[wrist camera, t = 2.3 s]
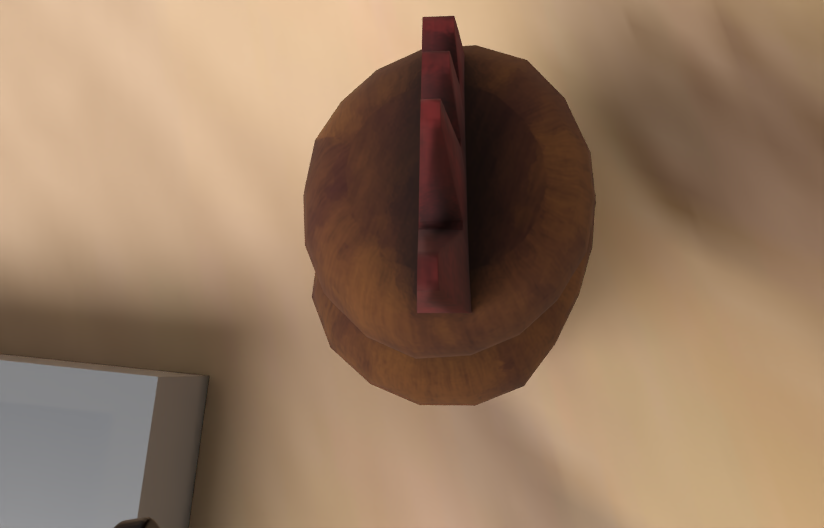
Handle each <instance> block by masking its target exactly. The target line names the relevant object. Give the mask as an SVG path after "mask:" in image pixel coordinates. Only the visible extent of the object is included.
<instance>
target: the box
mask: <svg viewBox="0 0 824 528" xmlns="http://www.w3.org/2000/svg"><path fill="white" fill-rule="evenodd" d="M208 382H209V376H205V375H196V374H186V373H177V372H167V371H157V370H148V369H138V368H129V367H119V366H110V365H100V364H90V363H81V362H71V361H62V360H52V359H43V358H33V357H23V356H14V355H4V354H0V528H114V527H115V526H116V525H117V524H118V523H120V522H121V521H124V520H129V519H135V518H142V517H150V518H152V519H154V520H155V521H156V522H157V524H158V525H159V527H160V528H188V527H189V519H190V512H191V505H192V498H193V490H194V483H195V476H196V469H197V461H198V454H199V447H200V440H201V432H202V425H203V418H204V411H205V403H206V396H207V389H208Z"/></svg>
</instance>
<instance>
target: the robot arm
mask: <svg viewBox="0 0 824 528" xmlns="http://www.w3.org/2000/svg"><path fill="white" fill-rule="evenodd" d="M114 528H160V527H159V525H158V524H157V522H156V521H155V520H154V519H152V518H150V517H142V518H135V519H129V520H124V521H121V522H120V523H118V524H117V525H116V526H115V527H114Z"/></svg>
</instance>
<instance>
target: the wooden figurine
mask: <svg viewBox="0 0 824 528" xmlns="http://www.w3.org/2000/svg"><path fill="white" fill-rule="evenodd" d="M595 196H596V195H595V192H594V182H593V173H592V163H591V154H590V151H589V148H588V146H587V144H586V142H585V140H584V138H583V136H582V134H581V132H580V130H579V127H578V125H577V123H576V121H575V119H574V117H573V115H572V113H571V111H570V109H569V107H568V104H567V102H566V100H565V98H564V97H563V96H562V95H561V94H560V93H559V92H558V91H557V90H556V89H555V88H554V87H553V86H552V85H551V84H550V83H549V82H548V81H547V80H546V79H545V78H544V77H543V76H542V75H541V74H540V73H539V72H538V71H537V70H536V69H535V68H534V67H533V66H532V65H531V64H530V63H529V62H528V61H527V60H524V59H521V58H518V57H514V56H511V55H507V54H504V53H500V52H497V51H493V50H490V49H487V48H483V47H480V46H476V45H474V46H462V43H461V39H460V35H459V31H458V27H457V24H456V21H455V17H454V16H439V17H423V25H422V50H420V51H418V52H415V53H413V54H411V55H409V56H407V57H404V58H402V59H400V60H398V61H396V62H393V63H391V64H389V65H387V66H385V67H383V68H380V69H378V70H376V71H375V72H374V73H373V74H372V75H371V76H370V77H369V78H367V79H366V80H365V81H364V82H363V83H362V84H361V85H360V86H358V87H357V88H356V89H355V90H354V91H353V92H352V93H351V94H349V95H348V96H347V97H346V98H345V99H344V100H343V101H342V102H341V103H340V104H339V106H338V107H337V109H336V110H335V112H334V113H333V115H332V116H331V118H330V119H329V121H328V122H327V124H326V125H325V127H324V128H323V130H322V131H321V132H320V134H319V135H318V137H317V138H316V140H315V144H314V148H313V153H312V157H311V162H310V167H309V171H308V176H307V181H306V185H305V191H304V228H305V246H306V249H307V251H308V254H309V256H310V259H311V261H312V264H313V267H314V269H315V278H314V286H313V293H312V298H313V301H314V304H315V307H316V309H317V312H318V315H319V317H320V320H321V323H322V325H323V328H324V331H325V334H326V336H327V339H328V342H329V344H330V347H331V348H332V349H333V350H334V351H335V352H336V353H337V354H339V355H340V356H341V357H342V358H343V359H344V360H345V361H346V362H347V363H348V364H349V365H351V366H352V367H353V368H354V369H355V370H356V371H357V372H358V373H359V374H360V375H362V376H363V377H364V378H365V379H366V380H367V381H368V382H369V383H370V384H372V385H374V386H377V387H379V388H381V389H384V390H386V391H388V392H391V393H393V394H395V395H398V396H400V397H402V398H405V399H407V400H409V401H412V402H414V403H416V404H419V405H474V406H475V405H478V404H480V403H483V402H485V401H488V400H490V399H492V398H495V397H497V396H500V395H502V394H505V393H507V392H510V391H512V390H515V389H517V388H520V387H522V386H524V385H525V384H526V382H527V381H528V380H529V378H530V377H531V376H532V374H533V373H534V371H535V370H536V369H537V367H538V366H539V365H540V363H541V362H542V361H543V359H544V358H545V357H546V355H547V354H548V353H549V351H550V350H551V349H552V347H553V346H554V345H555V343H556V341H557V339H558V337H559V335H560V333H561V331H562V328H563V326H564V324H565V322H566V320H567V318H568V316H569V314H570V312H571V310H572V308H573V306H574V304H575V302H576V299H577V297H578V295H579V292H580V288H581V285H582V281H583V278H584V274H585V270H586V267H587V263H588V260H589V256H590V252H591V249H592V241H593V226H594V211H595V204H596V201H595Z"/></svg>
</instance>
